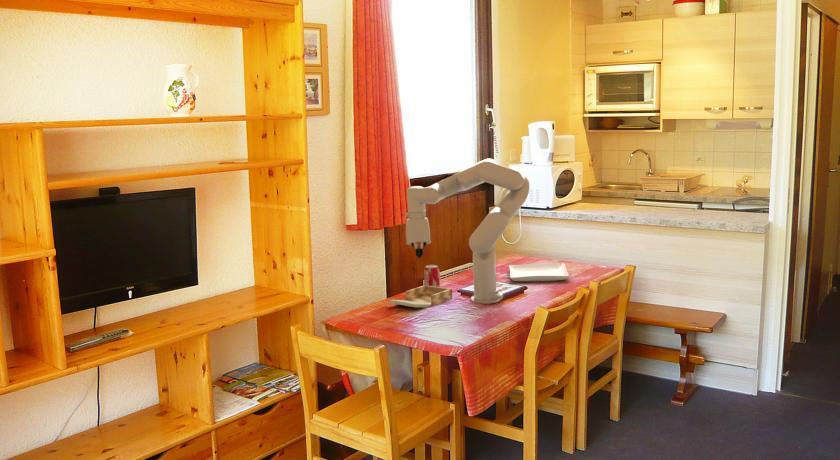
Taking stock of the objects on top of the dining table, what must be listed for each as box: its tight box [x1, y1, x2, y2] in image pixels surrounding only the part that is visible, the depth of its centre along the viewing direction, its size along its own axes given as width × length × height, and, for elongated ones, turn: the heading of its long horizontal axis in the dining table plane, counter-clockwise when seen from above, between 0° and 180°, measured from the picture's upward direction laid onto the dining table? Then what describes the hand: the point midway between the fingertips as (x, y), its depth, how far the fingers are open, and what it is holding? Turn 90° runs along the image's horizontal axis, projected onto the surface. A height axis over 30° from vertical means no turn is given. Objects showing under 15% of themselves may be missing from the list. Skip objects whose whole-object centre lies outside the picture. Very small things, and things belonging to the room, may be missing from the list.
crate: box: [405, 284, 453, 307], centre depth 331 cm, size 13×15×5 cm
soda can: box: [423, 264, 441, 287], centre depth 346 cm, size 7×7×12 cm
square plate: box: [508, 262, 570, 283], centre depth 368 cm, size 27×27×4 cm
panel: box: [388, 299, 432, 308], centre depth 322 cm, size 1×14×11 cm
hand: (419, 257), depth 332 cm, fingers closed
